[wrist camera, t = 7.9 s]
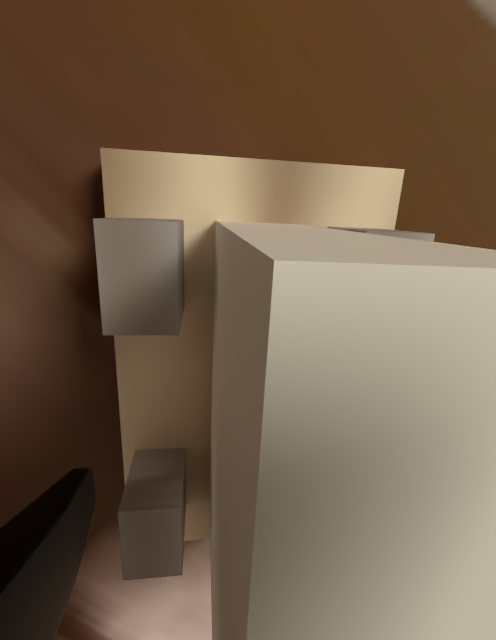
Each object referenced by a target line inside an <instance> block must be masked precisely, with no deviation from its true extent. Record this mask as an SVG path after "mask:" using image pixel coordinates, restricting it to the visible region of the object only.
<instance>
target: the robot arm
mask: <svg viewBox="0 0 496 640" xmlns="http://www.w3.org/2000/svg"><path fill="white" fill-rule="evenodd" d="M94 505H95V486H94V477H93V471H92V469H91V468H75V469H72V470H71V471H69V472H68V473H67V474H66V475H65V476H63V477H62V478H61V479H60V480H59V481H57V482H56V483H55V484H54V485H52V486H51V487H50V488H49V489H48V490H46V491H45V492H44V493H43V494H42V495H40V496H39V497H38V498H37V499H35V500H34V501H33V502H32V503H31V504H29V505H28V506H27V507H26V508H25V509H23V510H22V511H21V512H20V513H18V514H17V515H16V516H15V517H14V518H12V519H11V520H10V521H9V522H7V523H6V524H5V525H4V526H3V527H1V528H0V640H54V639H55V636H56V634H57V631H58V628H59V625H60V622H61V620H62V617H63V614H64V611H65V608H66V606H67V603H68V600H69V597H70V594H71V592H72V589H73V586H74V583H75V580H76V577H77V573H78V569H79V566H80V562H81V558H82V554H83V550H84V546H85V542H86V538H87V534H88V530H89V526H90V522H91V518H92V514H93V510H94Z"/></svg>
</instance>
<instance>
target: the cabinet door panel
mask: <svg viewBox="0 0 496 640" xmlns="http://www.w3.org/2000/svg"><path fill="white" fill-rule="evenodd" d="M209 506H210V554H211V601H212V640H496V250H491V249H483V248H475V247H468V246H460V245H452V244H445V243H437V242H430V241H422V240H414V239H407V238H399V237H391V236H384V235H376V234H368V233H361V232H353V231H345V230H338V229H330V228H322V227H315V226H307V225H295V224H275V223H255V222H236V221H216V236H215V280H214V325H213V369H212V413H211V458H210V502H209Z"/></svg>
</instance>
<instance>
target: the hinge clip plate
mask: <svg viewBox="0 0 496 640" xmlns="http://www.w3.org/2000/svg"><path fill="white" fill-rule="evenodd" d="M100 153H101V166H102V180H103V194H104V207H105V218H94V219H93V224H94V236H95V248H96V260H97V272H98V284H99V296H100V307H101V319H102V331H103V335H114V344H115V357H116V371H117V385H118V398H119V412H120V425H121V439H122V453H123V466H124V480H125V488H124V491H123V495H122V498H121V502H120V505H119V509H118V523H119V535H120V547H121V559H122V571H123V580H132V579H143V578H154V577H165V576H177V575H182V568H183V551H184V541H191V540H204V539H210V506H209V502H210V458H211V413H212V369H213V325H214V280H215V236H216V221H236V222H255V223H275V224H295V225H307V226H315V227H322V228H330V229H338V230H345V231H353V232H361V233H368V234H376V235H384V236H391V237H399V238H407V239H414V240H422V241H430V242H433V241H434V237H435V234H431V233H420V232H410V231H399V230H394V229H395V223H396V218H397V212H398V206H399V200H400V194H401V188H402V182H403V176H404V170H405V169H391V168H377V167H363V166H349V165H335V164H321V163H307V162H293V161H279V160H265V159H251V158H237V157H223V156H208V155H194V154H180V153H166V152H152V151H138V150H124V149H110V148H100Z"/></svg>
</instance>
